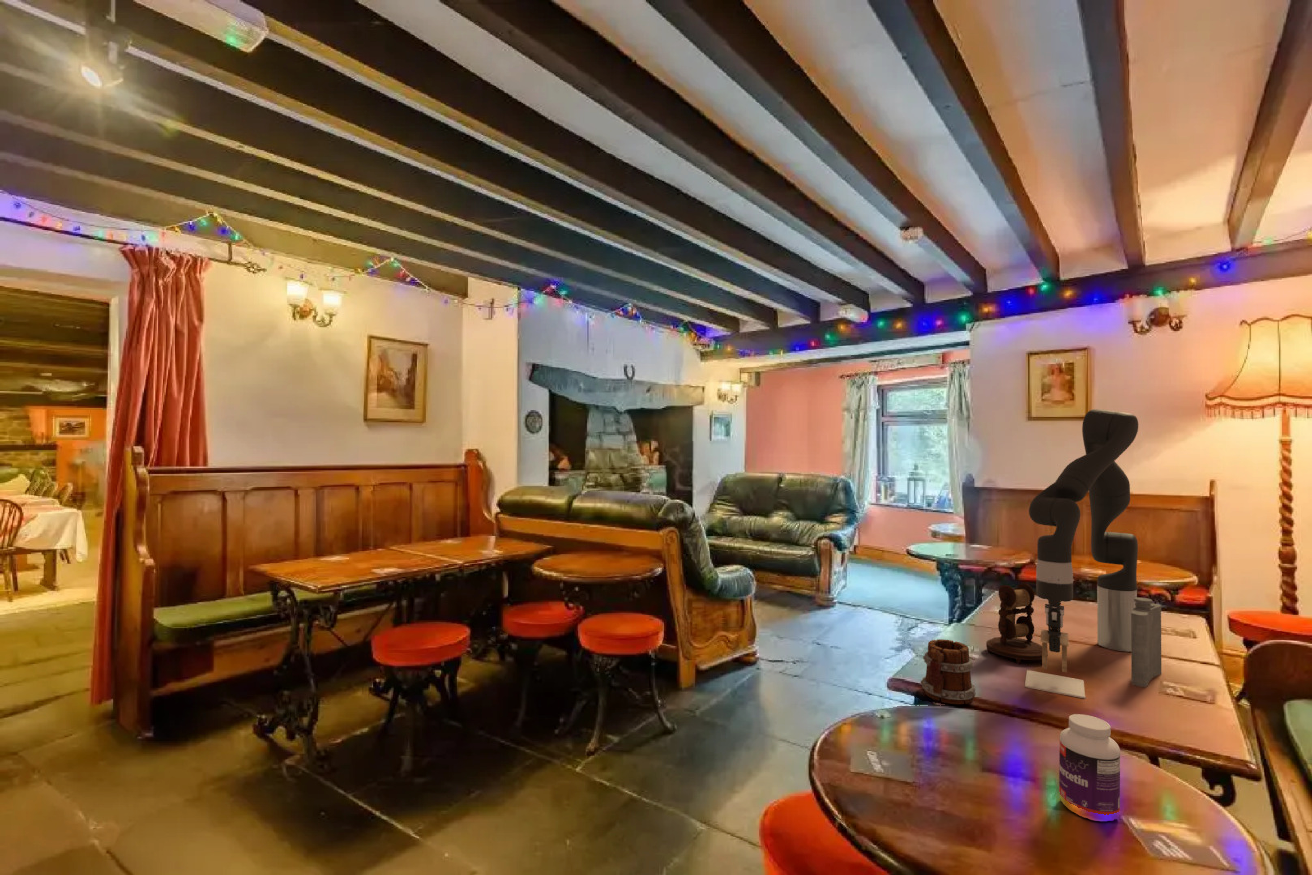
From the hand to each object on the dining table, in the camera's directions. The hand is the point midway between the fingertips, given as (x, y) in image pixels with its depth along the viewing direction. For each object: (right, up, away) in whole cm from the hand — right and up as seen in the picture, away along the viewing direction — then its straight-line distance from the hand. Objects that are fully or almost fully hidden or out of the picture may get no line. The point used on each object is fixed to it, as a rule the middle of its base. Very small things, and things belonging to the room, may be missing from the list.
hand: (1054, 647), depth 149 cm
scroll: (+3, -10, +21) cm, 23 cm away
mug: (-30, -9, -7) cm, 32 cm away
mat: (+1, -9, +1) cm, 9 cm away
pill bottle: (-27, -9, -50) cm, 58 cm away
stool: (0, -5, 0) cm, 5 cm away
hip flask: (+26, -10, +5) cm, 29 cm away
